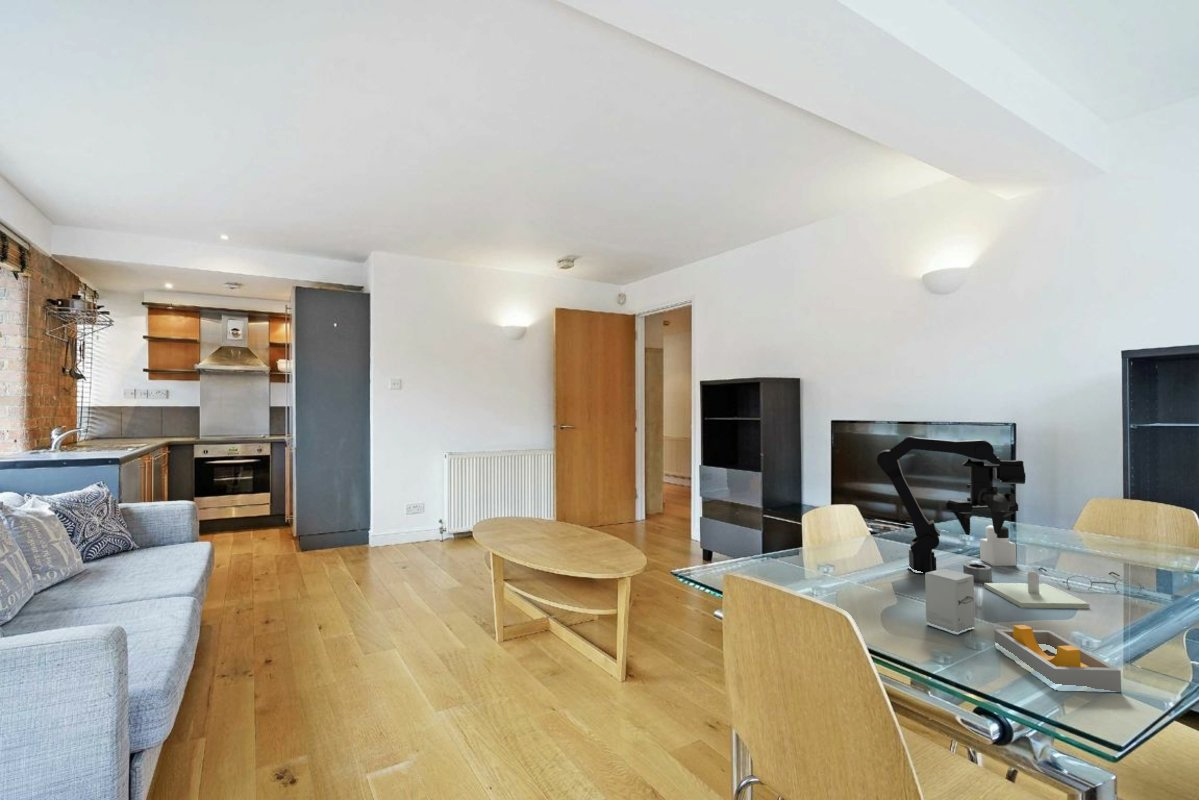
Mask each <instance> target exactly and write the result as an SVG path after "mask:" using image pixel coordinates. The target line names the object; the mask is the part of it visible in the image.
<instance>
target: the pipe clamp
mask: <svg viewBox="0 0 1199 800" xmlns="http://www.w3.org/2000/svg"><path fill="white" fill-rule="evenodd" d="M1012 630H1013V639H1015V640H1016V641H1018V642H1019V643H1021V644H1023V645H1024V646H1026V647H1027V648H1029V649H1030V650H1032V651H1033V652H1035V653H1036V654H1038V655H1039V656H1041V657H1043V658H1044V659H1046V660H1047V661H1049V662H1050V663H1052V664H1053V665H1055V666H1056V667H1089V666H1087V665H1085V664H1083V663H1081V662H1080V650H1079V649H1077V648H1075V647H1073V646H1071V645H1067V646H1058V649H1057V654H1056V656H1055V655H1048V654H1047V653H1046V652H1045V651H1042V649H1041V648H1040V647H1039V645H1038V644H1037V642H1036V640H1035V638H1034V634H1033V630H1034V628H1032V627H1030V626H1028V625H1026V624H1017V625H1012Z"/></svg>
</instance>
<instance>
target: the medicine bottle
mask: <svg viewBox="0 0 1199 800" xmlns="http://www.w3.org/2000/svg"><path fill="white" fill-rule="evenodd" d="M1009 530H1010V529H1009V528H1008V527H1006V526H1004V525H1002V528H1001V530H1000V533H999V534H995V532H994V528H993V524H990V525H986V526H985V538H980V539H979V549H980V550H979V552H980V554H979V555H980V560H981V561H982V562H984V563H986V564H988V565H991V566H992V567H1016V566H1017V545H1016V543H1014V542H1012V541H1010V531H1009Z"/></svg>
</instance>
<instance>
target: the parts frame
mask: <svg viewBox="0 0 1199 800" xmlns="http://www.w3.org/2000/svg"><path fill="white" fill-rule="evenodd" d="M1033 634H1034V638H1035V640H1036V642H1037V644H1046V645H1050V646H1052V647H1054V648H1055V649H1058V646H1067V645H1071V646H1073V647H1075V648H1077V649H1079V650H1080V662H1081V663H1083V664H1085V665H1087V666H1089V667H1056V666H1055V665H1053V664H1052V663H1050V662H1049V661H1047V660H1046V659H1044V658H1043V657H1041V656H1039V655H1038V654H1036V653H1035V652H1033V651H1032V650H1030V649H1029V648H1027V647H1026V646H1024V645H1023V644H1021V643H1019V642H1018V641H1016V640H1015V639H1013V629H996V628H994V643H995V642H996V643H998V644H999V645H1000V646H1002V647H1003V648H1005V649H1006V650H1008V651H1009V652H1011V653H1013V654H1014V655H1015V656H1017V657H1018V658H1019V659H1020V660H1022V661H1023V662H1025V663H1026V664H1027V665H1029V666H1030V667H1031V668H1033V669H1034V670H1035V671H1037V672H1039V673H1040V674H1042V675H1043V676H1045V677H1046V678H1047V679H1049V680H1050V681H1052V682H1053V683H1055V684H1062V685H1076V686H1087V687H1091V688H1095V689H1104V690H1110V691H1116V692H1121V693H1122V677H1121V676H1122V674H1121V673H1122V672H1121V670H1120V669H1119V668H1117V667H1116V666H1113V665H1112V664H1110V663H1108V662H1106V661H1105V660H1103V659H1101V658H1100V657H1099V656H1096V655H1094V654H1092V653H1090V652H1089V651H1087V650H1085V649H1083V648H1082V647H1080V646H1078V645H1077V644H1075V643H1074V642H1071V641H1069V640H1068V639H1067V638H1064V637H1063V636H1060V635H1059V634H1056V632H1053V631H1052V630H1049V629H1047V630H1046V629H1033Z"/></svg>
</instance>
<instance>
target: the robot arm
mask: <svg viewBox="0 0 1199 800" xmlns="http://www.w3.org/2000/svg"><path fill="white" fill-rule="evenodd" d="M912 450H919V451H920V450H921V451H926V452H927V451H928V452H929V451H930V452H937V453H950V454H957V455H960V456H965V457H966V458H967V459H966V460H965V461H964V462H963V463H962V466H963V467H968V468H969V482H970V483H967V484H966V488H968V489H970V490H969V493H970V496H969V497H966V499H967V500H963V499H948V500H947V501H946V504H945V505H946V506H945V507H946V510H948V511H950V513H953V514H954V516H955V517H956V519H957V520H958V522H959V524H960V526H961V527H962V530H963V532H964V533H965V535H966V536H971V535H970V534H971V518H972V516H973V515H974V513H972V511H973V510H975V509H976V510H977V509H979V510H981V509H990V515H991V520H992V521H991V522H992V525H993V528H994V532H995V534H999V533H1000V530H1001V528H1002V526H1004V523H1005V521H1006V519H1007V518H1008V517H1009V516H1011V515H1013V514H1015V512H1019V504H1018V502H1017V501H1016V495H1015V494H1013V493H1008V492H1007V493H999V491H998V489H999V488H998V487H997V486H995V485H994V474H995V480H999V481H1000V484H1012V485H1013V484H1015V485H1025V484H1026V472H1025V466H1024V461H1023V460H1022V459H1021V460H1020V459H1018V460H1016V459H1015V460H1004V459H1003V460H1000V457H999V456H997V455H996V454H995V453H994V452H995V450H994V447H993V445H992V444H991V443H990V442H989V441H987V440H985V439H979V438H978V439H966V440H948V439H935V438H925V437H915V436H912V435H909V436H906V437H904V438H903V439H902V441H900V442H899V443H897V444H896V445H895V446H893V447H891V448H890V449H884V450H882V451H880V453H879V454H878V455H877V457H876V463H877V465H878V466H879V468H880V469H881V470H882V472H883V473H884V474H885V475H886V476H887V478H889V480H890V481H891V483H892V485H893V487H894V489H895V491H896V493H897V495H898V497H899V498H900V501H901V503H902V504H903V506H904V508H905V510H906V512H907V515H908V516H909V517H910V520H911V522H912V526H913V529H914V533H915V535H916V536H915V537H914V538H913V539H912V540H911V541H910V547H909V549H908V566H910V567H911V568H912V569H914V570H917V571H921V572H923V573H927V572H931V571H935V570H937V557H936V556H935V552H934V551H933V550H934V549H936V548H938V547H939V544H940V537H941V531H940V530H939V529H938V528H937V526H936V524H935V521H934V519H931V520H928V518H927V517H926V516H925V515H924V513H923V511H922V509H921V507H920V505H919V503H918V502H917V499H916V497H915V496H914V494H913V492H912V489H911V488H910V486H909V483H908V482H907V481H906V479H905V477H904V475H903V471H902V466H901V463H900V459H902V457H903V456H905V455H906V454H908V453H909V452H910V451H912ZM972 459H976V460H972ZM985 461H987V462H989V463H990V464H985ZM994 468H995V470H994ZM994 471H995V472H994Z"/></svg>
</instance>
